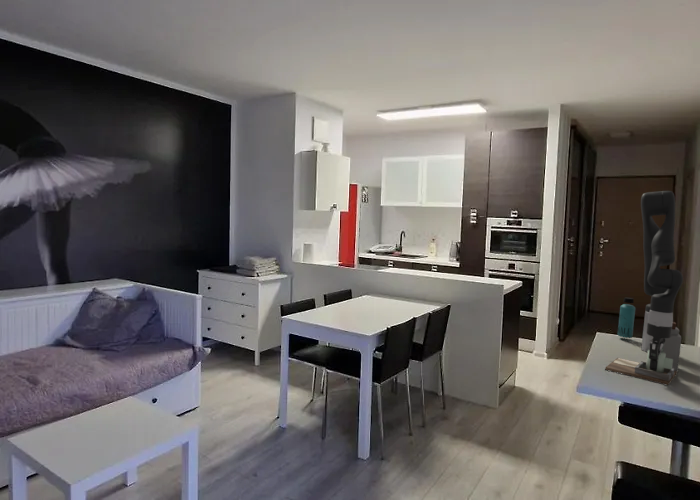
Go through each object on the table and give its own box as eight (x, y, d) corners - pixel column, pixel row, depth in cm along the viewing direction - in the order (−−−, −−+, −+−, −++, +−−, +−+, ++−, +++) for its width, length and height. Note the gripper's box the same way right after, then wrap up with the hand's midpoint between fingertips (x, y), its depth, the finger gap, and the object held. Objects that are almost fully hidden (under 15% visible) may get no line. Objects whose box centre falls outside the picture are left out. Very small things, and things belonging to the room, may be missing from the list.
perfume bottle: (674, 366, 186) (679, 321, 185) (677, 371, 180) (682, 325, 178) (654, 363, 189) (658, 319, 187) (656, 368, 183) (661, 322, 181)
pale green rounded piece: (647, 369, 178) (649, 348, 177) (672, 375, 172) (674, 354, 171) (643, 372, 174) (646, 351, 173) (669, 379, 168) (671, 357, 167)
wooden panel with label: (617, 360, 191) (618, 352, 191) (676, 373, 177) (677, 366, 177) (605, 369, 178) (606, 361, 178) (668, 385, 165) (669, 376, 165)
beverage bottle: (628, 337, 227) (632, 296, 225) (635, 341, 220) (639, 299, 219) (614, 336, 228) (618, 296, 226) (620, 340, 221) (624, 298, 219)
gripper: (652, 318, 180) (647, 361, 181) (643, 324, 169) (638, 369, 171) (675, 322, 175) (670, 366, 176) (668, 328, 164) (663, 375, 166)
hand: (654, 368), depth 173 cm, fingers closed on pale green rounded piece, 5 cm apart
